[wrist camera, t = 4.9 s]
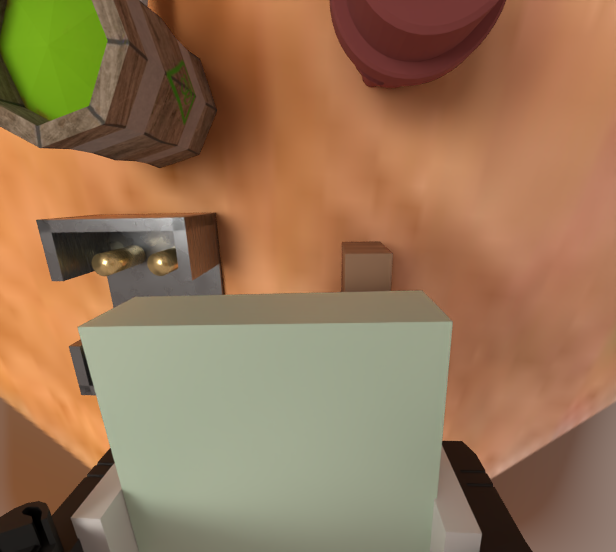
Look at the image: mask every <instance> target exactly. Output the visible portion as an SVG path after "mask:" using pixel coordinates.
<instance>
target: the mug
mask: <svg viewBox="0 0 616 552" xmlns="http://www.w3.org/2000/svg"><path fill="white" fill-rule="evenodd" d="M147 4H148V0H0V127H2V128H4V129H6V130H8V131H9V132H11V133H13V134H15V135H17V136H19V137H21V138H22V139H24V140H26V141H28V142H30V143H32V144H34V145H35V146H37V147H39V148H55V149H73V150H78V151H84V152H90V153H94V154H97V155H100V156H104V157H107V158H110V159H113V160H123V161H137V162H143V163H148V164H150V165H153V166H156V167H158V168H162V167H164V166H167V165H170V164H173V163H176V162H179V161H182V160H185V159H188V158H191V157H194V156H197V155H199V154H200V152H201V149H202V147H203V144H204V142H205V139H206V137H207V134H208V132H209V129H210V127H211V124H212V122H213V119H214V117H215V114H216V112H217V109H216V106H215V103H214V100H213V97H212V94H211V91H210V88H209V85H208V82H207V79H206V76H205V73H204V70H203V67H202V64H201V61H200V59H199V58H198V57H196V56H195V55H193V54H192V53H190V52H189V51H188V50H187V49H186V48H185V47H184V46H183V45H182V44H181V43H180V42H179V41H178V40H177V39H176V38H175V36H174V35H173V34H172V32H171V31H170V29H169V28H168V27H167V25H166V24H165V23H164V21H163V20H162V19H161V18H160V17H159V16H158V15H157V14H155V13H154V12H153V11H152V10H151V9H149V8H148V7H147Z"/></svg>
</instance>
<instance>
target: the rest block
mask: <svg viewBox="0 0 616 552" xmlns="http://www.w3.org/2000/svg"><path fill="white" fill-rule="evenodd" d="M392 260H393V253H392V252H391V251H390V250H388V249H387V248H386V247H385V246H384V245H383V244H382V243H381V242H342V288H341V292H371V291H391V278H392Z"/></svg>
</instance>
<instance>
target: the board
mask: <svg viewBox="0 0 616 552" xmlns="http://www.w3.org/2000/svg"><path fill="white" fill-rule="evenodd" d="M452 324H453V321H452V320H451V319H450V318H449V317H448V316H447V315H446V314H445V313H444V312H443V311H442V310H441V309H440V308H439V307H438V306H437V305H436V304H435V303H434V302H433V301H432V300H431V299H430V298H429V297H428V296H427V295H426V294H425V293H424V292H423V291H422V290H415V291H371V292H327V293H283V294H239V295H195V296H151V297H134V298H132V299H130V300H128V301H126V302H124V303H122V304H120V305H118V306H117V307H115V308H113V309H111V310H109V311H107V312H105V313H103V314H101V315H99V316H98V317H96V318H94V319H92V320H90V321H88V322H86V323H84V324H82V325H80V326H79V327H78V331H79V334H80V338H81V342H82V345H83V349H84V353H85V356H86V360H87V364H88V367H89V371H90V374H91V378H92V382H93V385H94V389H95V393H96V396H97V400H98V404H99V407H100V411H101V415H102V418H103V422H104V426H105V429H106V433H107V437H108V440H109V444H110V448H111V451H112V455H113V458H114V462H115V466H116V469H117V473H118V477H119V480H120V484H121V488H122V491H123V495H124V499H125V502H126V506H127V510H128V513H129V517H130V521H131V524H132V528H133V531H134V535H135V539H136V542H137V546H138V550H139V552H430V542H431V531H432V519H433V508H434V499H437V492H438V481H439V470H440V459H441V448H442V436H443V425H444V414H445V403H446V392H447V380H448V369H449V358H450V347H451V336H452Z"/></svg>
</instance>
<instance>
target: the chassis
mask: <svg viewBox="0 0 616 552" xmlns="http://www.w3.org/2000/svg"><path fill="white" fill-rule="evenodd" d="M36 221H37V225H38V229H39V233H40V237H41V241H42V244H43V248H44V252H45V256H46V260H47V264H48V268H49V272H50V275H51V279H52V281H65V280H68V279H71V278H74V277H77V276H81V275H84V274H87V273H90V272H93V271H95V272H96V273H97V274H99V275H101V276H107V278H108V283H109V288H110V292H111V297H112V302H113V307H114V308H115V307H117V306H118V305H120V304H122V303H124V302H126V301H128V300H130V299H132V298H134V297H151V296H195V295H224V290H223V280H222V270H221V260H220V251H219V241H218V231H217V221H216V213H169V214H114V215H90V216H78V217H66V218H54V219H42V220H36ZM69 349H70V353H71V357H72V360H73V364H74V368H75V372H76V376H77V380H78V384H79V387H80V391H81V395H96V393H95V389H94V385H93V382H92V378H91V374H90V371H89V367H88V364H87V360H86V356H85V353H84V349H83V345H82V342H81V340H79V341H77V342H75V343H74V344H72V345H70V346H69Z"/></svg>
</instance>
